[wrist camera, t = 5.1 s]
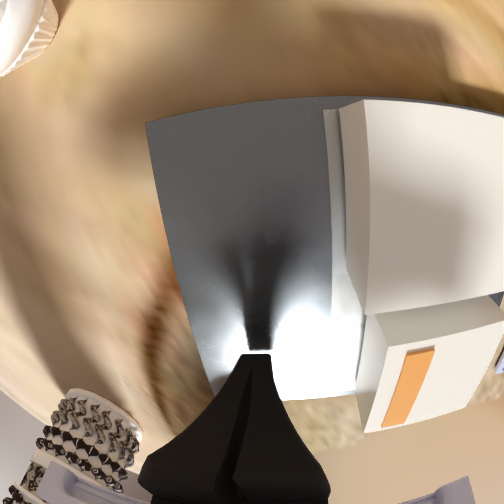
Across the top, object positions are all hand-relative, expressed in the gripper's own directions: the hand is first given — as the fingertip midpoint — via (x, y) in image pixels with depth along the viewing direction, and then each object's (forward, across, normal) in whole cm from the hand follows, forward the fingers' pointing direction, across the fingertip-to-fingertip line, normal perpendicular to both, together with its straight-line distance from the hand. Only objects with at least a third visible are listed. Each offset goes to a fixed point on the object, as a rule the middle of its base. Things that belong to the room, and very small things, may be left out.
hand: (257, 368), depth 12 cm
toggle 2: (+1, -8, 0) cm, 8 cm away
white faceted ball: (+2, +10, -19) cm, 22 cm away
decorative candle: (+2, +16, +11) cm, 20 cm away
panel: (+2, -5, -4) cm, 7 cm away
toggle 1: (+1, -7, -8) cm, 10 cm away
